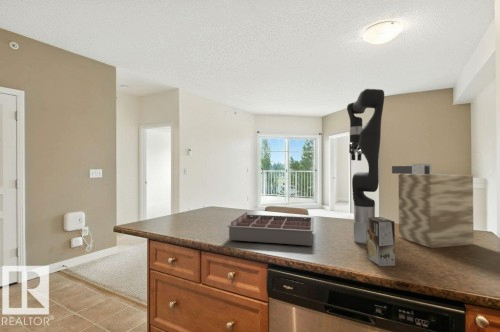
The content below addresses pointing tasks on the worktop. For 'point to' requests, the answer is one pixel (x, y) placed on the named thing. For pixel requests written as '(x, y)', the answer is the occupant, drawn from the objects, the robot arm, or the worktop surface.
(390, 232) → the coffee box
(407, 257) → the worktop surface
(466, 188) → the wood grain block
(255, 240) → the organizer tray
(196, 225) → the worktop surface
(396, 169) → the bar
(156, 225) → the worktop surface
